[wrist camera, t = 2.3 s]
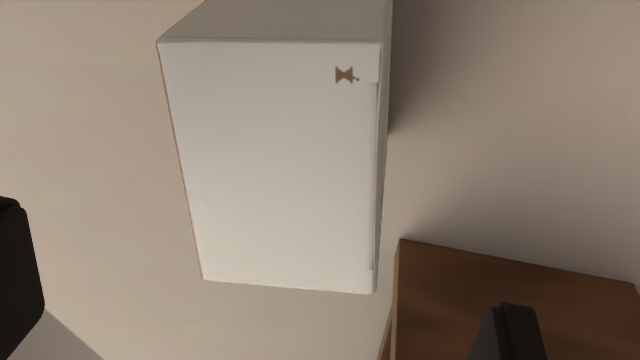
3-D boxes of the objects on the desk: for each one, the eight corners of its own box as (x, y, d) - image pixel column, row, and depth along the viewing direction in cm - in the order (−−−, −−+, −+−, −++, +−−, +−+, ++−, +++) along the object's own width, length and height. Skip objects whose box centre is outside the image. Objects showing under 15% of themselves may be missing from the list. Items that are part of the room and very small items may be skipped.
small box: (256, -45, 21) (147, 30, 13) (397, -45, 21) (387, 34, 12) (271, 135, 26) (196, 286, 17) (388, 140, 25) (375, 301, 16)
